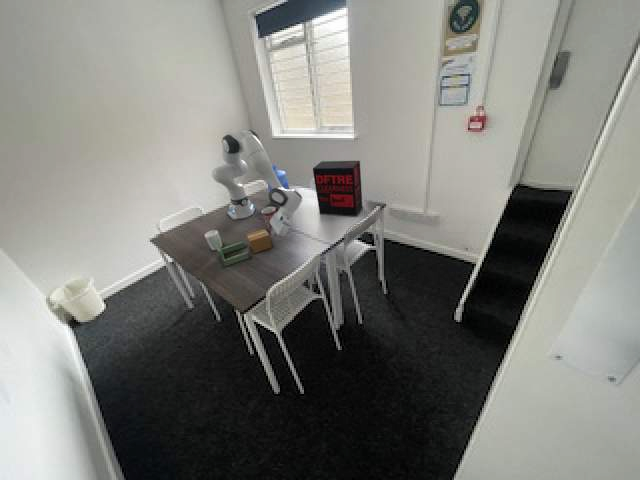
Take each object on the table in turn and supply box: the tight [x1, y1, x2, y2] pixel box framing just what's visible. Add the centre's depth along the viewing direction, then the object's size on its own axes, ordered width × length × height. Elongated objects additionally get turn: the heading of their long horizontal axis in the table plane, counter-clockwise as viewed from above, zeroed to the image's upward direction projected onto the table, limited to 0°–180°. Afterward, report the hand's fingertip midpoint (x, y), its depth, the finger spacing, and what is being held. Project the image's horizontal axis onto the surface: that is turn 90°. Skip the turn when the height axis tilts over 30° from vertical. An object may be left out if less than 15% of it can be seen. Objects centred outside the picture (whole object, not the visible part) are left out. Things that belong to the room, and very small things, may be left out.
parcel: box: [246, 228, 273, 254], centre depth 152 cm, size 11×9×9 cm
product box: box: [312, 160, 363, 217], centre depth 172 cm, size 26×14×32 cm, turn 67°
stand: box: [216, 239, 250, 268], centre depth 147 cm, size 14×14×10 cm
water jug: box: [266, 164, 290, 192], centre depth 205 cm, size 16×16×28 cm
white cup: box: [204, 229, 223, 251], centre depth 158 cm, size 8×8×10 cm
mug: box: [261, 206, 279, 232], centre depth 170 cm, size 13×9×14 cm
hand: (271, 236), depth 154 cm, fingers closed
